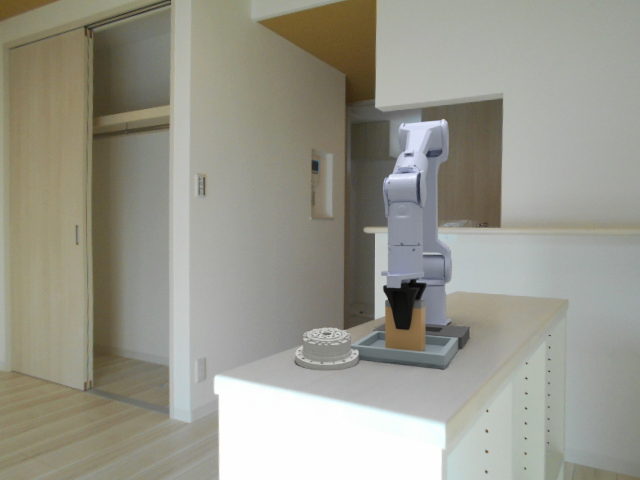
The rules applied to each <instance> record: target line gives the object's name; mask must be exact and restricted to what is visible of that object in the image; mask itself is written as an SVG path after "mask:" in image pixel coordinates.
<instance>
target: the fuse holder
mask: <svg viewBox="0 0 640 480" xmlns="http://www.w3.org/2000/svg"><path fill="white" fill-rule="evenodd" d="M372 330H373V331H372V332H374V331H385V323H383V324H381V325H380V326H378V327H376V328H375V329H372ZM425 331H426V335H432V336H444V337H456V338H458V350H459V349H460V350H463V348H464V346H466V343H467V342H468V340H469V338H470V336H471V335H470V326H462V325H461V326H460V325H450V324H449V325H448V324H447V325H436V324H425Z"/></svg>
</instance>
